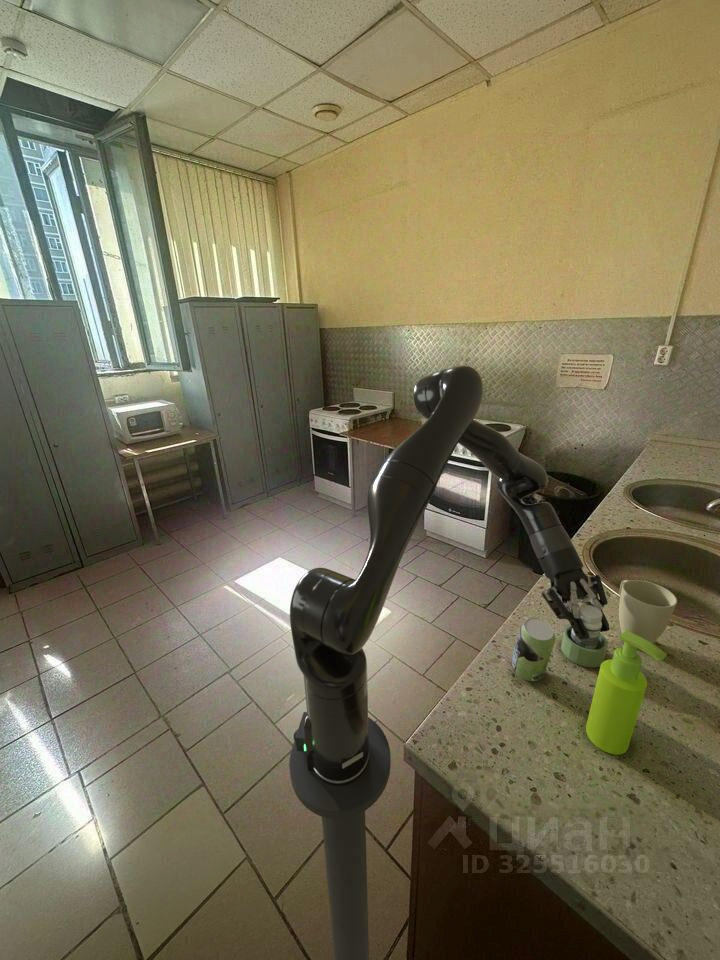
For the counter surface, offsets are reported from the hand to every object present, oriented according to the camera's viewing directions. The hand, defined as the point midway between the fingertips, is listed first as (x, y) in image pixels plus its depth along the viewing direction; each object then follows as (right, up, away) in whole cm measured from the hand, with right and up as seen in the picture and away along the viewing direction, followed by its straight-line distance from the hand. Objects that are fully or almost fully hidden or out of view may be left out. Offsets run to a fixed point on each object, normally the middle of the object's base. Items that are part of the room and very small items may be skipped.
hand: (594, 634), depth 76 cm
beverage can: (-13, -7, -1) cm, 15 cm away
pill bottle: (-1, -3, +3) cm, 5 cm away
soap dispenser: (-6, -12, -13) cm, 19 cm away
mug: (+12, -4, +7) cm, 15 cm away
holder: (0, -5, +4) cm, 6 cm away
